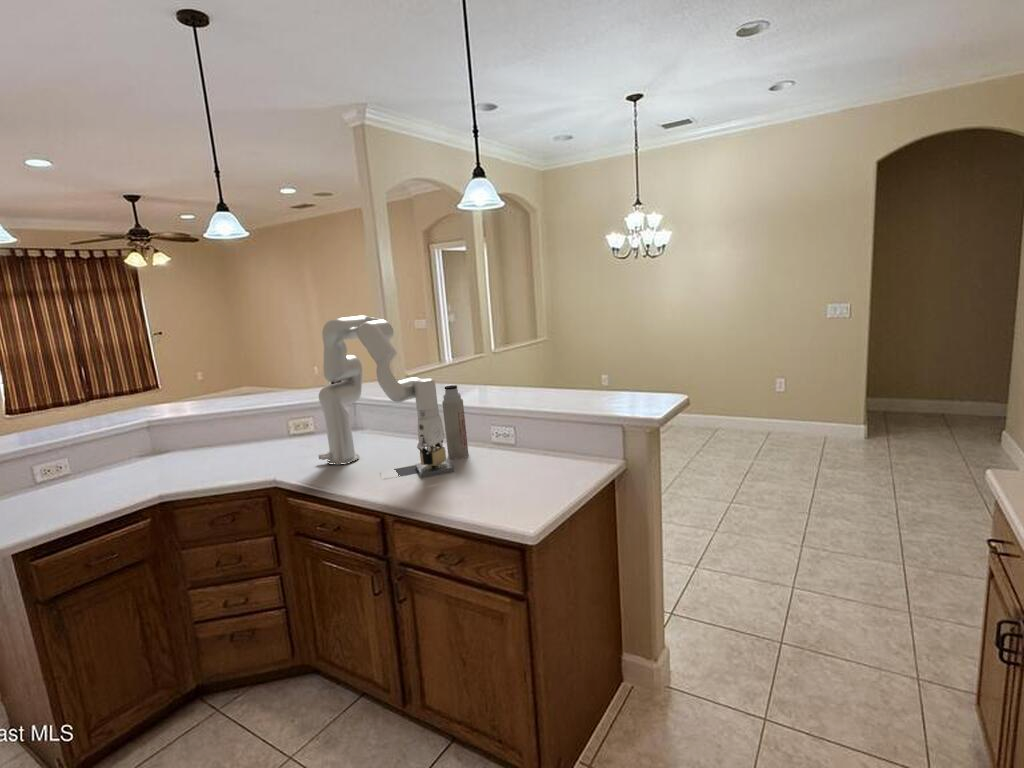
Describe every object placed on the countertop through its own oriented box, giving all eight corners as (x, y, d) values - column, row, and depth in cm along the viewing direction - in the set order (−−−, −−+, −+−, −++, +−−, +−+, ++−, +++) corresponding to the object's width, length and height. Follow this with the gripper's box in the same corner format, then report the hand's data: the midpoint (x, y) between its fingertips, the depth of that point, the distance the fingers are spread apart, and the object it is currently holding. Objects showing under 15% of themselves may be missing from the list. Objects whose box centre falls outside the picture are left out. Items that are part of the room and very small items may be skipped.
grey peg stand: (421, 478, 186) (417, 451, 184) (415, 469, 197) (412, 443, 195) (454, 472, 190) (451, 445, 188) (447, 463, 201) (444, 437, 199)
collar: (421, 464, 191) (419, 451, 191) (431, 459, 197) (429, 446, 196) (436, 466, 189) (434, 452, 188) (446, 460, 194) (444, 447, 193)
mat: (381, 480, 188) (381, 480, 187) (379, 472, 197) (379, 471, 197) (421, 473, 192) (421, 472, 192) (416, 465, 201) (416, 464, 201)
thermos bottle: (472, 453, 210) (465, 384, 205) (458, 459, 204) (451, 388, 199) (457, 451, 215) (450, 383, 210) (444, 457, 209) (436, 387, 204)
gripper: (422, 419, 180) (428, 469, 183) (449, 407, 196) (454, 454, 199) (404, 418, 184) (410, 468, 187) (432, 407, 199) (438, 453, 202)
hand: (433, 460), depth 193 cm, fingers closed on collar, 6 cm apart
